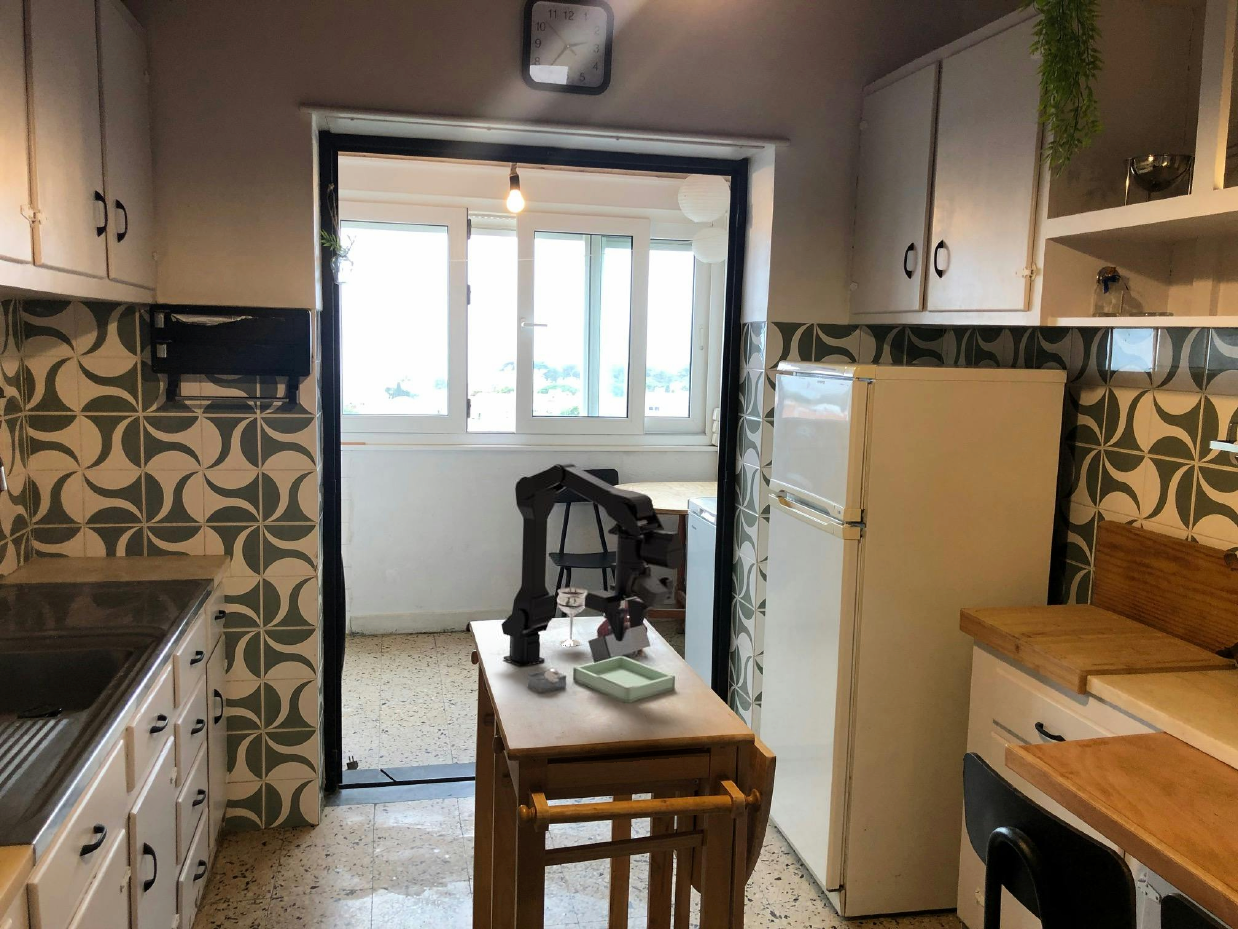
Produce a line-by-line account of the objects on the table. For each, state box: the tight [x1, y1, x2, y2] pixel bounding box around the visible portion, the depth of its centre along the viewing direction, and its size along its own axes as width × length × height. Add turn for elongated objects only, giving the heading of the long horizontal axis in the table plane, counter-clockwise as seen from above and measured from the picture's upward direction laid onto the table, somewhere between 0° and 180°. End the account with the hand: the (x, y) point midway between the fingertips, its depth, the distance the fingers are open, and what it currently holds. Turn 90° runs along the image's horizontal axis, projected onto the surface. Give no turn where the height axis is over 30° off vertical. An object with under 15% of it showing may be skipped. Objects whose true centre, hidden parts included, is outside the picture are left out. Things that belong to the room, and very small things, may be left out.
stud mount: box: [527, 668, 567, 695], centre depth 185 cm, size 5×6×4 cm
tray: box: [572, 656, 676, 704], centre depth 189 cm, size 16×13×3 cm
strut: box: [587, 624, 651, 663], centre depth 185 cm, size 12×4×4 cm, turn 46°
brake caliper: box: [596, 603, 648, 658], centre depth 211 cm, size 11×11×12 cm
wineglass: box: [556, 587, 588, 647], centre depth 214 cm, size 7×7×12 cm
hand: (626, 639), depth 184 cm, fingers closed on strut, 4 cm apart
